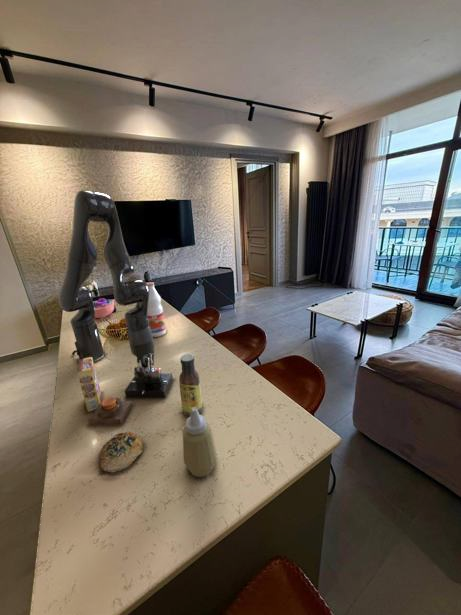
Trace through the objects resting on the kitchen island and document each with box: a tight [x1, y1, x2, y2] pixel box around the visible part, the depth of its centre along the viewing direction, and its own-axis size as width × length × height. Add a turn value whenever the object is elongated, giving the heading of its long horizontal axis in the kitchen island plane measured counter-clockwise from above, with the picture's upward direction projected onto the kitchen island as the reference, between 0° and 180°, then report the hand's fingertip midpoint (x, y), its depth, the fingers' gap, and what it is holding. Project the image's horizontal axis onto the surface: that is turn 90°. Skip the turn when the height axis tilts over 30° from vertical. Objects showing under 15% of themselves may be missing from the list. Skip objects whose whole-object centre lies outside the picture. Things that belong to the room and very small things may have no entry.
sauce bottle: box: [178, 353, 203, 417], centre depth 78 cm, size 6×6×20 cm
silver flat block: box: [133, 367, 162, 384], centre depth 91 cm, size 9×2×5 cm, turn 88°
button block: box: [88, 397, 133, 426], centre depth 81 cm, size 10×8×4 cm
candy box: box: [76, 357, 102, 412], centre depth 85 cm, size 9×4×15 cm, turn 26°
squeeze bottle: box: [182, 407, 217, 478], centre depth 60 cm, size 8×8×18 cm
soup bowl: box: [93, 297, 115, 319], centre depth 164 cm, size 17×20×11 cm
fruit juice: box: [146, 281, 167, 338], centre depth 132 cm, size 9×9×28 cm
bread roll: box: [98, 431, 144, 474], centre depth 67 cm, size 11×11×5 cm
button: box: [101, 396, 117, 410], centre depth 80 cm, size 4×4×2 cm
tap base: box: [124, 373, 174, 399], centre depth 93 cm, size 14×13×3 cm
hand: (149, 381), depth 92 cm, fingers closed on silver flat block, 2 cm apart
